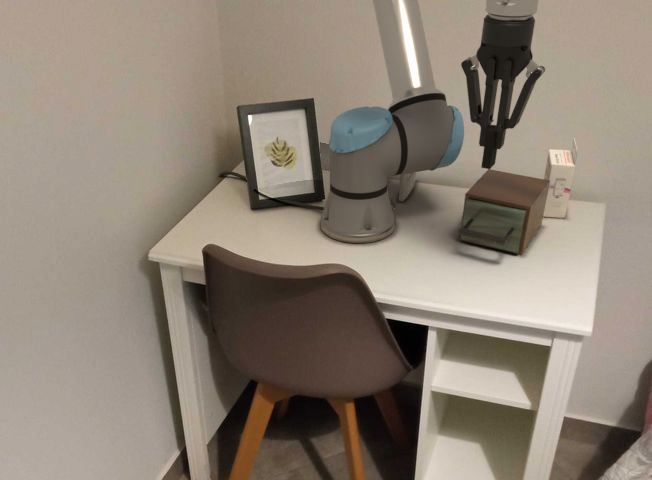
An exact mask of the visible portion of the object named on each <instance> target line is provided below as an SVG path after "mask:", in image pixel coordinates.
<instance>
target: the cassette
mask: <svg viewBox="0 0 652 480" xmlns="http://www.w3.org/2000/svg"><path fill="white" fill-rule="evenodd" d="M416 173H417V172H414V173H407V174H401V175H399V176H400V177H399V191H398V192H399V193H398V202H402V203H403V202H404V200H407V198H408V197H409V195H410V193H411V191H412V189H414V186H415V182H416Z"/></svg>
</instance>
